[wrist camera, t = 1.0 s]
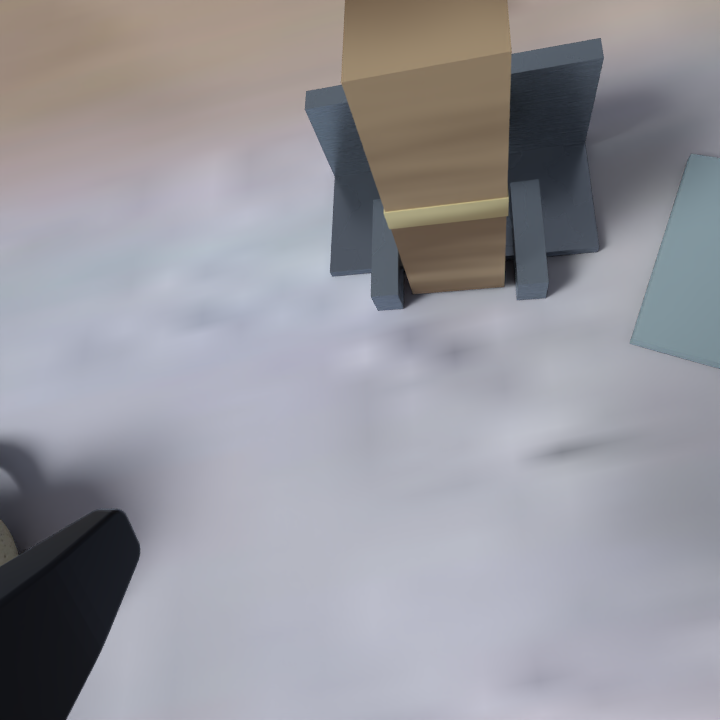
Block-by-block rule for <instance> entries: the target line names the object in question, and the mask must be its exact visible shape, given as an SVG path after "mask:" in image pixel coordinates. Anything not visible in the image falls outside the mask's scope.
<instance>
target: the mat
mask: <svg viewBox="0 0 720 720" xmlns="http://www.w3.org/2000/svg"><path fill="white" fill-rule="evenodd" d="M630 344H633V345H637V346H640V347H644V348H647V349H651V350H655V351H658V352H662V353H665V354H669V355H673V356H676V357H680V358H683V359H687V360H690V361H694V362H698V363H701V364H705V365H708V366H712V367H715V368H719V369H720V158H716V157H710V156H703V155H697V154H691V155H690V157H689V159H688V161H687V164H686V167H685V170H684V173H683V177H682V180H681V183H680V186H679V189H678V192H677V195H676V199H675V202H674V205H673V208H672V211H671V214H670V218H669V221H668V224H667V227H666V230H665V233H664V237H663V240H662V243H661V246H660V249H659V252H658V255H657V259H656V262H655V265H654V268H653V271H652V274H651V278H650V281H649V284H648V287H647V290H646V293H645V297H644V300H643V303H642V306H641V309H640V312H639V316H638V319H637V322H636V325H635V328H634V331H633V334H632V338H631V341H630Z"/></svg>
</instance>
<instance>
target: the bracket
mask: <svg viewBox="0 0 720 720" xmlns="http://www.w3.org/2000/svg"><path fill="white" fill-rule="evenodd" d="M603 59H604V56H603V50H602V43H601V38H598V39H592V40H587V41H581V42H576V43H570V44H565V45H559V46H554V47H548V48H543V49H537V50H532V51H526V52H521V53H515V54H511V85H510V117H509V150H508V195H509V206H508V216H506V248H505V260H514V271H515V284H516V297H517V300H526V299H540V298H546V294H547V289H548V284H549V279H548V269H547V259H546V257H548V256H559V255H570V254H581V253H591V252H598V249H599V242H598V235H597V227H596V220H595V212H594V205H593V197H592V190H591V183H590V175H589V168H588V160H587V153H586V145H585V140H586V136H587V131H588V127H589V122H590V118H591V113H592V109H593V104H594V100H595V95H596V91H597V86H598V82H599V77H600V73H601V68H602V64H603ZM305 111H306V113H307V115H308V117H309V120H310V122H311V124H312V126H313V129H314V131H315V133H316V135H317V138H318V140H319V142H320V144H321V147H322V149H323V151H324V153H325V156H326V158H327V160H328V162H329V165H330V167H331V169H332V171H333V174H334V176H335V184H334V204H333V224H332V244H331V264H330V273H331V275H332V276H343V275H353V274H364V273H371V298H372V300H373V302H374V304H375V306H376V308H377V310H378V311H380V310H393V309H404V270H405V269H404V266H403V263H402V260H401V257H400V254H399V251H398V248H397V246H396V243H395V240H394V237H393V234H392V231H391V229H389V227H388V225H387V222H386V219H385V216H384V207H383V204H382V201H381V198H380V195H379V192H378V190H377V187H376V184H375V181H374V178H373V175H372V172H371V169H370V166H369V163H368V160H367V157H366V154H365V151H364V148H363V145H362V142H361V139H360V136H359V134H358V131H357V128H356V125H355V122H354V119H353V116H352V113H351V110H350V107H349V104H348V101H347V98H346V95H345V92H344V89H343V86H342V85H338V86H333V87H327V88H322V89H316V90H311V91H306V101H305Z"/></svg>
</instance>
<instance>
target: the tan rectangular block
mask: <svg viewBox="0 0 720 720" xmlns="http://www.w3.org/2000/svg"><path fill="white" fill-rule="evenodd" d="M511 52H512V51H511V39H510V28H509V16H508V4H507V0H345V14H344V34H343V55H342V75H341V83H342V86H343V89H344V92H345V95H346V98H347V101H348V104H349V107H350V110H351V113H352V116H353V119H354V122H355V125H356V128H357V131H358V134H359V136H360V139H361V142H362V145H363V148H364V151H365V154H366V157H367V160H368V163H369V166H370V169H371V172H372V175H373V178H374V181H375V184H376V187H377V190H378V192H379V195H380V198H381V201H382V204H383V207H384V216H385V219H386V222H387V225H388V227H389V229H391V231H392V234H393V237H394V240H395V243H396V246H397V248H398V251H399V254H400V257H401V260H402V263H403V266H404V269H405V272H406V275H407V278H408V281H409V284H410V287H411V290H412V293H413V294H422V293H434V292H447V291H459V290H471V289H484V288H496V287H504V281H505V248H506V216H508V206H509V195H508V150H509V117H510V85H511Z"/></svg>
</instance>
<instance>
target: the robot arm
mask: <svg viewBox="0 0 720 720" xmlns="http://www.w3.org/2000/svg"><path fill="white" fill-rule="evenodd" d="M139 557H140V544H139V541H138V539H137V537H136V535H135V533H134V531H133V528H132V526H131V524H130V522H129V520H128V517H127V515H126V514H125V512H123V511H122V510H120V509H97V510H95V511H93V512H91V513H89V514H88V515H86V516H84V517H83V518H81V519H79V520H78V521H76V522H74V523H73V524H71V525H69V526H67V527H66V528H64V529H62V530H61V531H59V532H57V533H56V534H54V535H52V536H51V537H49V538H47V539H46V540H44V541H42V542H40V543H39V544H37V545H35V546H34V547H32V548H30V549H29V550H27V551H25V552H24V553H22V554H20V555H18V556H17V557H15V558H13V559H12V560H10V561H8V562H7V563H5V564H3V565H2V566H0V720H66V719H67V717H68V715H69V713H70V712H71V710H72V708H73V706H74V704H75V702H76V700H77V698H78V696H79V694H80V692H81V690H82V688H83V686H84V684H85V682H86V680H87V678H88V676H89V674H90V672H91V671H92V669H93V667H94V665H95V663H96V661H97V658H98V656H99V654H100V652H101V650H102V648H103V646H104V643H105V641H106V639H107V636H108V634H109V632H110V629H111V627H112V624H113V622H114V619H115V617H116V615H117V612H118V610H119V607H120V605H121V602H122V600H123V597H124V595H125V592H126V590H127V588H128V585H129V583H130V580H131V578H132V575H133V573H134V570H135V568H136V565H137V563H138V560H139Z"/></svg>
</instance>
